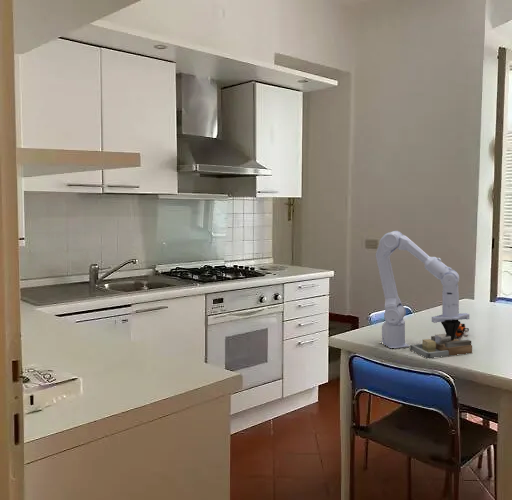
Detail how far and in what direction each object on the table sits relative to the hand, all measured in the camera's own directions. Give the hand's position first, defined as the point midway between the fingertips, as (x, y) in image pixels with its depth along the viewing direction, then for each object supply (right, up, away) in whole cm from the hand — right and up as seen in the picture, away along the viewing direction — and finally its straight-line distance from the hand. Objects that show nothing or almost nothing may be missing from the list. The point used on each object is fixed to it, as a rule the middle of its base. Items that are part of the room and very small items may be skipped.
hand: (450, 339), depth 206 cm
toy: (+10, -2, +21) cm, 23 cm away
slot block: (0, -4, 0) cm, 4 cm away
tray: (-9, -5, -2) cm, 10 cm away
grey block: (-3, -1, -1) cm, 3 cm away
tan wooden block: (-7, -2, -2) cm, 8 cm away
